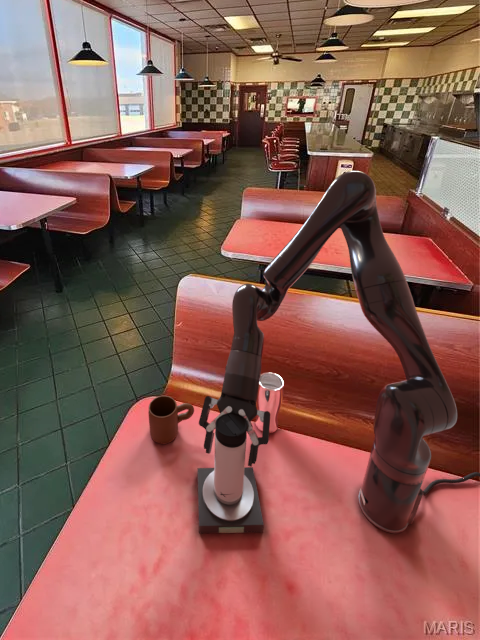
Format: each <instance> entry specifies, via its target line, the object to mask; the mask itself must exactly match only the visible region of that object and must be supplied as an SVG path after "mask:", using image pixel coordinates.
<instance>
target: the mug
mask: <svg viewBox="0 0 480 640" xmlns="http://www.w3.org/2000/svg"><path fill="white" fill-rule="evenodd" d="M186 410H187V411H186ZM184 411H186V412H184ZM194 414H195V408H194V406H193V405H192V404H191V403H190V402H184V403H181V404H179V405H178V404H177V401H176V400H175V399H174V398H173V397H172V396H170V395H159V396H156V397H155V398H153V399H152V400H151V401H150V402H149V404H148V424H149V425H148V426H149V435H150V438H151V439H152V440H153V441H154V442H156V443H157V444H161V445H165V444H169V443H171V442H173V441H174V440H175V438H176V437H177V436H178V433H179V423H181V422H183V421H186V420H189V419H191V418H192V416H193V415H194Z"/></svg>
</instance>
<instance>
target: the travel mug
mask: <svg viewBox="0 0 480 640" xmlns="http://www.w3.org/2000/svg"><path fill="white" fill-rule="evenodd" d="M214 430H215V431H214V461H213V463H214V464H213V468H214V493H215V496H216V497H217V499H218V500H219V501H220V502H222V503H224V504H227V505H232V504H235V503H237V502H238V501H239V500H240V499H241V497H242V494H243V482H244V468H245V467H246V466H245V465H246V451H247V437H248V436H247V434H248V433H247V422H246V420H245V418H244V417H243V416H241V415H239V414H237V413H227V414H224V415H222V416H220V417H219V418H217V420H216V425H215V429H214Z"/></svg>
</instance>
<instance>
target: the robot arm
mask: <svg viewBox="0 0 480 640" xmlns="http://www.w3.org/2000/svg"><path fill="white" fill-rule="evenodd" d="M338 229H341V232H342V235H343V237H344V239H345V243H346V245H347V248H348V249H347V250H348V256H349V263H350V271H351V276H352V282H353V285H354V289H355V293H356V296H357V300H358V303H359V306H360V309H361V311H362V314H363V316H364V317H365V319H366V320H367V322H368V323H369V324H370V325H371V326H372V327H373V328H374V330H376V331H377V332H378V333H379V335H381V336H382V337H383V339H385V340H386V341H387V342H388V344H389V345H390V346H391V347H392V349H393V350H394V352H395V353H396V355H397V357H398V360H399V361H400V364H401V367H402V369H403V373H404V377H405V379H404V380H399V381H395V382H392V383H388V384H385V385H384V386H383V387H382V388H381V390H380V392H379V394H378V396H377V401H376V406H375V412H374V417H373V425H372V426H373V433H374V439H373V443H372V446H371V450H370V454H369V457H368V461H367V465H366V468H365V472H364V476H363V480H362V483H361V486H360V488H359V492H358V495H357V497H358V499H357V500H358V505H359V508H360V510H361V512H362V513H363V514H364V516H365V518H366V519H367V520H368V521H369V522H370V523H371V524H372V525H373V526H375V527H376V528H378V529H379V530H381V531H383V532H386V533H390V534H401V533H403V532H404V531H405V530H406V529H407V528H408V525H413V524H414V521H415V518H416V515H417V512H418V510H419V507H420V505H421V501H422V499H423V497H424V496H426V495H428V494H429V493H430V491H431V490H432V489H433V488H434V487H435V486H437V485H439V484H460V483H464V482H467V481H468V480H471V479H473V478H475V477H479V478H480V472H478V471H474V472H471V473H469V474H467V475H464V476H463V477H459V478H456V479H455V478H454V479H453V478H439V479H436V480H433V481H431V482H430V483H429V484H428V485H427V486H426V488H425V489H422V485H423V482H424V479H425V477H426V474H427V471H428V469H429V466H430V464H431V462H432V461H431V460H432V451H431V448H430V446H429V444H428V443H427V441H426V440H425V439H424V437H427V436H430V435H434V434H438V433H441V432H444V431H447V430H450V429H452V428H453V427H454V426H455V425H456V423H457V421H458V408H457V404H456V401H455V398H454V396H453V394H452V391H451V389H450V386H449V384H448V383H447V380H446V378H445V376H444V374H443V372H442V369H441V367H440V365H439V363H438V361H437V359H436V357H435V355H434V352H433V350H432V348H431V346H430V343H429V341H428V338H427V335H426V333H425V330H424V328H423V324H422V322H421V320H420V317H419V314H418V311H417V308H416V304H415V301H414V298H413V295H412V292H411V289H410V287H409V284H408V281H407V279H406V276H405V273H404V271H403V268H402V267H401V264H400V263H399V260H398V259H397V257H396V255H395V253H394V251H393V250H392V248H391V247H390V245H389V243H388V241H387V240H386V237H385V234H384V231H383V227H382V225H381V220H380V216H379V210H378V206H377V189H376V185H375V182H374V180H373V179H372V177H371V176H370V175H368V173H365V172H363V171H359V170H350V171H346V172H344V173H341V174H340V175H338V176H337V177H335V179H334V180H333V181H332V182H331V184H330V185H329V186H328V188H327V189H326V191H325V192H324V194H323V195H322V197H321V199H319V201H318V203H317V205H316V206H315V208H314V209H313V210H312V212H311V213H310V215H309V216H308V217H307V218H306V221H304V223H303V224H302V226H301V227H300V228H299V230H298V231H297V232H296V233H295V234H294V236H292V238H290V240H289V241H288V243H286V245H284V247H283V248H282V249H281V250H280V251H279V252H278V253H277V254H276V256H275V257H274V258H273V259H272V260H271V261H270V262H269V264H267V265H266V267H265V268H264V270H263V272H262V275H263V278H264V279H265V281H266V283H265V285H264V287H263V289H261V288H260V287H258V286H256V285H254V284H252V283H245V284H244V283H243V284H242V285H240V286H239V287H238V288H237V290H236V291H235V292H234V295H233V298H232V302H231V305H232V306H231V307H232V309H231V311H232V327H233V335H232V341H231V346H230V350H229V354H228V357H227V361H226V365H225V369H224V376H223V383H222V388H221V393H220V396H219V398H218V399H216V398H214V397H212V396H210V395H205V397H204V400H203V404H202V409H201V412H200V416H199V419H198V425H199V427H201V428H203V429H204V430H205V437H204V442H203V449H204V450H205V454H211V452H212V449H213V448H212V447H213V443H214V439H215V431H214V430H215V425H216V420H217V418H219V417H220V416H222V415H224V414H227V413H237V414H239V415H241V416H243V417H244V418H245V420H246V422H247V434H248V436H249V439H250V441H251V444H250V448H249V454H248V462H247V467H253V465H255V464H256V462H257V459H258V453H259V447H260V446H262V445H268V444H269V441H270V433H269V429H270V415H271V414H270V412H269V411H260V410H258V408H257V395H258V388H259V382H260V376H261V374H262V360H263V352H264V346H265V333H264V332H263V330H262V329H261V328H260V327H259V325H258V322H264V321H267V320H269V319H270V318H272V317H273V316H274V315H275V314H276V312H278V310H279V308H280V306H281V304H282V302H283V301H284V299H285V297H286V295H287V293H288V291H289V289H290V288H291V287H292V286H293V285H294V284H295V283H296V282H297V281H298V280H299V279H300V278H301V277H302V276H303V274H304V273H305V272H306V271H307V270H308V269H309V267H311V265H312V264H313V262H314V261H315V259H316V258H317V256H318V254H319V253H320V251H322V249H323V247H324V246H325V244H327V242H328V240H329V239H330V238H331V237H332V236H333V234H334V233H336V231H337V230H338ZM215 406H217V409H218V411H219V414H218V415H217V416H216V417H215V418H214V419H213V420H212V421H211V422H208V419H209V417H210V411H211V409H213V408H214V407H215ZM257 415H258V416H259V417H260V421H261V422H263V432H262V433H261V434H262V435H261V436H260V437H258V435H257V433H256V430H255V428H254V426H253V423H252V421H253V420H254V419H256V417H257ZM463 478H464V479H463Z"/></svg>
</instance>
